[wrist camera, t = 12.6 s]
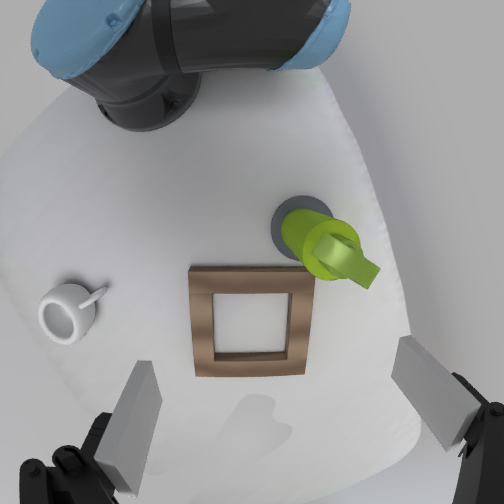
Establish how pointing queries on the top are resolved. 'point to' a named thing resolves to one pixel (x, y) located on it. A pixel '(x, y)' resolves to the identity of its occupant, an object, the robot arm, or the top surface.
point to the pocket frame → (250, 282)
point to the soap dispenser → (327, 247)
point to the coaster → (285, 209)
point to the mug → (68, 312)
